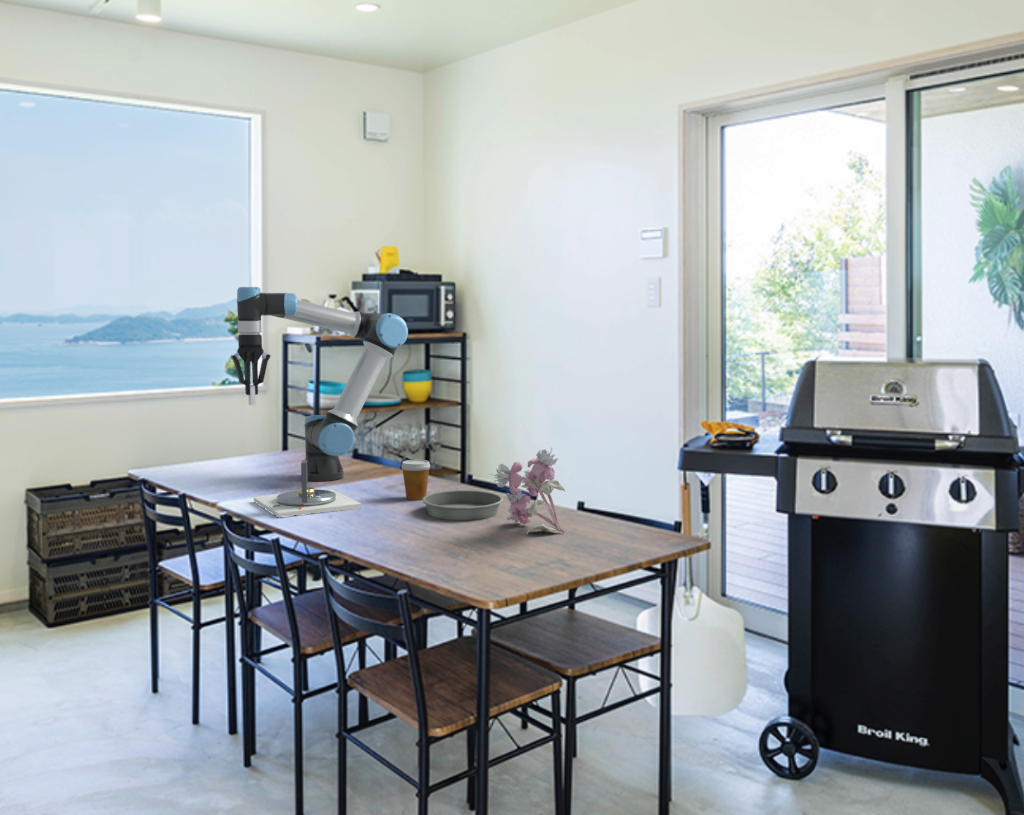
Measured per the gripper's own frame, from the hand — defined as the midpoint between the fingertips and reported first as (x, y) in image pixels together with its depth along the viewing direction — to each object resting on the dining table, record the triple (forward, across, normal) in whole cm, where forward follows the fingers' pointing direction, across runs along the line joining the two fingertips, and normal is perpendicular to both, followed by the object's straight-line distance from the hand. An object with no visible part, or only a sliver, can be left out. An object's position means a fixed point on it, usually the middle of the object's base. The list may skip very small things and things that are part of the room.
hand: (252, 404), depth 313 cm
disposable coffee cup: (+30, -42, +38) cm, 64 cm away
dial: (+28, -8, +31) cm, 42 cm away
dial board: (+29, -8, +30) cm, 43 cm away
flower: (+30, -52, +91) cm, 109 cm away
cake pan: (+30, -46, +63) cm, 84 cm away
